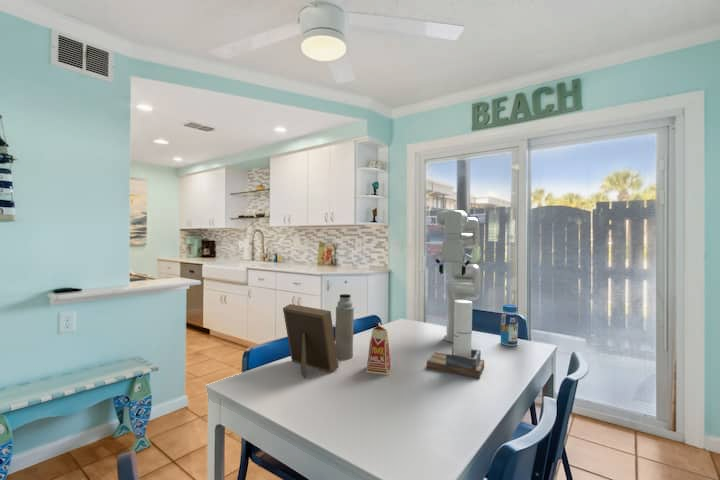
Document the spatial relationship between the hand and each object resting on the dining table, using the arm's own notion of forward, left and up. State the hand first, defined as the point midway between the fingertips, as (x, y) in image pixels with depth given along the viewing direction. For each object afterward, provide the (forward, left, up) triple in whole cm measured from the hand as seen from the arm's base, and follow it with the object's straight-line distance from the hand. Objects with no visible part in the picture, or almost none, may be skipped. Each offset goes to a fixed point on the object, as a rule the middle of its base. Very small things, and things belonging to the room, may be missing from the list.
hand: (452, 274), depth 165 cm
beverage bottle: (-35, +23, -38) cm, 56 cm away
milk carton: (+32, -22, -38) cm, 54 cm away
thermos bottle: (+25, -42, -38) cm, 62 cm away
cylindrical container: (+14, +8, -35) cm, 38 cm away
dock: (+14, +5, -38) cm, 41 cm away
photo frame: (+46, -48, -38) cm, 77 cm away
